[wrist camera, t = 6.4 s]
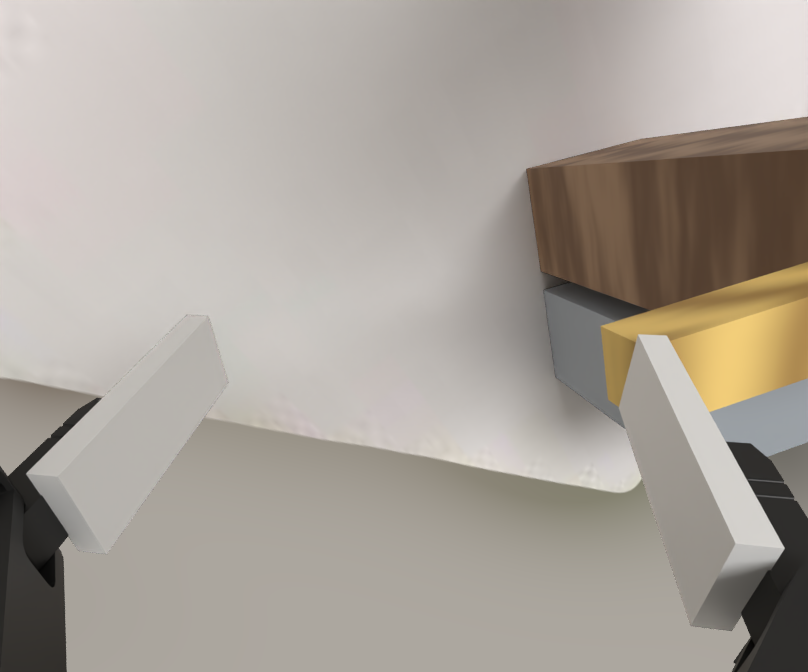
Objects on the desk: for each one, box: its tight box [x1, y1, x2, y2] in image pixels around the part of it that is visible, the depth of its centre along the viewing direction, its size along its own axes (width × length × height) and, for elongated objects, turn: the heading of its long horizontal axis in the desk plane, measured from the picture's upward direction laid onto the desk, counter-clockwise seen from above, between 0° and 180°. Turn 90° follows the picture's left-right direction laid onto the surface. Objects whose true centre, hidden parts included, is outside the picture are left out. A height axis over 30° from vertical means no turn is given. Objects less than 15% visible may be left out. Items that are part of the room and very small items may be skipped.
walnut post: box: [527, 117, 808, 310], centre depth 34 cm, size 12×10×30 cm
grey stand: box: [543, 282, 808, 457], centre depth 43 cm, size 14×10×20 cm
